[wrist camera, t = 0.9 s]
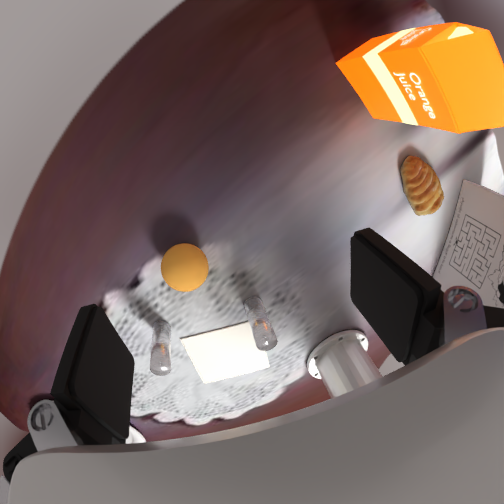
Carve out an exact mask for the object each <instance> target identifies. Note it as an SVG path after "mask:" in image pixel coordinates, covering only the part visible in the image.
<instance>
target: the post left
mask: <svg viewBox="0 0 504 504" xmlns="http://www.w3.org/2000/svg"><path fill="white" fill-rule="evenodd" d="M150 370H151V372H152V373H154V374H156V375H160V376H163V375H167V374H169V373H170V371H171V326H170V324H169V323H168V322H166V321H157V322H155V323H154V325H153V334H152V346H151V360H150Z"/></svg>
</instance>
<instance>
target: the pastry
mask: <svg viewBox="0 0 504 504" xmlns="http://www.w3.org/2000/svg"><path fill="white" fill-rule="evenodd" d="M400 171H401V176H402V180H403V191H404V193H405V194H406V197H407V199H408V201H409V203H410V205H411V207H412V208H413V210H414V212H415V214H416V215H418V216H420V215H427V214H433V213H434V212H436V211H437V210H438V209H439V208H440V206H441V204H442V201H443V199H444V196H443V191H442V188H441V184H440V181H439V178H438V177H437V175H436V173H435V172H434V170H433V169H432V168H431V167H430V166H429V165H428V164H427V163H425V162H424V161H423V160H421V158H419V157H414V156H408V157H407V158H406V159H405V160H404V162H403V164H402V167H401V170H400Z"/></svg>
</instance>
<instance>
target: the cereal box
mask: <svg viewBox="0 0 504 504" xmlns="http://www.w3.org/2000/svg"><path fill="white" fill-rule="evenodd" d="M433 278H434V279H435V280H436V281H438V282H439V283H440V284H441V285H442V286H441V290H442V291H443V292H444V293H445V291H446V290H447V289H448V288H450V287H453V286H465V287H468V288H471V289H473V290H474V291H475V292H477V293H478V295H479V296H480V297H481V300H482V302H483V305H485V306H491V307H498V308H504V196H503V195H501V194H499V193H497V192H495V191H493V190H491V189H488V188H486V187H484V186H482V185H479V184H477V183H474V182H471V181H469V180H466V179H464V180H463V183H462V187H461V191H460V195H459V199H458V203H457V207H456V210H455V214H454V217H453V221H452V224H451V227H450V230H449V233H448V237H447V240H446V243H445V245H444V248H443V251H442V254H441V257H440V259H439V262H438V265H437V267H436V270H435V272H434V275H433Z"/></svg>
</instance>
